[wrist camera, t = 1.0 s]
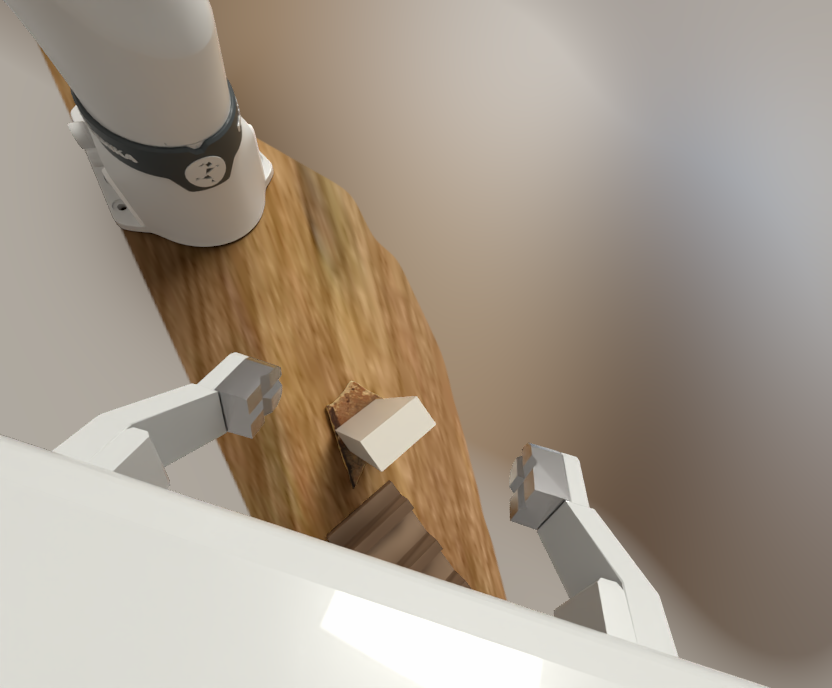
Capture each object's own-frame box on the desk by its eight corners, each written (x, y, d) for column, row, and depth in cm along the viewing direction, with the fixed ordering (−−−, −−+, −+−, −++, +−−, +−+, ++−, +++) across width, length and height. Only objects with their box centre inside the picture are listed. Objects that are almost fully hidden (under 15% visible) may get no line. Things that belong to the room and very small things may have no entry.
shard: (351, 487, 41) (354, 489, 39) (294, 457, 40) (294, 458, 38) (394, 406, 45) (397, 406, 43) (343, 377, 43) (345, 375, 42)
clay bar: (335, 430, 40) (360, 441, 27) (375, 399, 42) (416, 396, 29) (349, 450, 40) (381, 472, 27) (389, 418, 42) (436, 424, 29)
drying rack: (326, 535, 38) (329, 547, 34) (389, 480, 42) (398, 486, 38) (408, 650, 39) (420, 675, 35) (463, 585, 42) (480, 602, 38)
